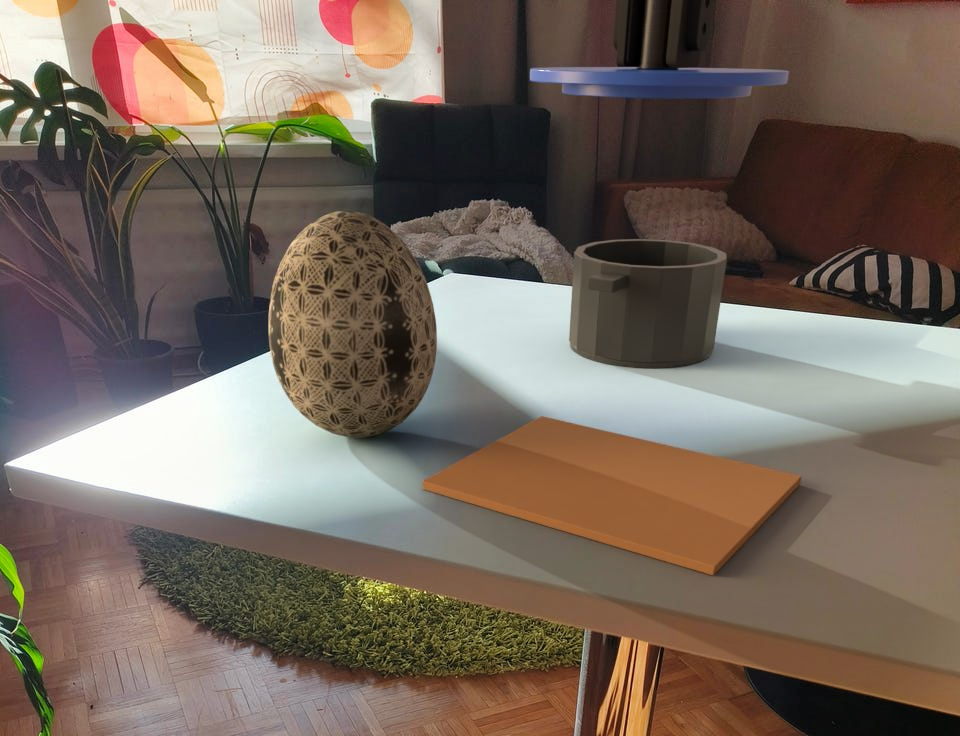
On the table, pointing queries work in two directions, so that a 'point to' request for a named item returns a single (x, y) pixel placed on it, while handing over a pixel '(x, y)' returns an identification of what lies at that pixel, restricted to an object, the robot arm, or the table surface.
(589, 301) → the pot
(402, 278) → the decorative egg
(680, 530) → the cork mat
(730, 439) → the table surface
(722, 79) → the blue lid
